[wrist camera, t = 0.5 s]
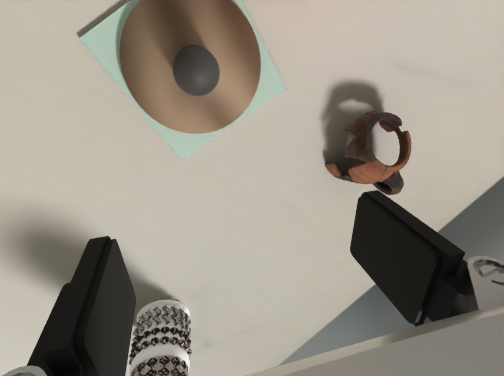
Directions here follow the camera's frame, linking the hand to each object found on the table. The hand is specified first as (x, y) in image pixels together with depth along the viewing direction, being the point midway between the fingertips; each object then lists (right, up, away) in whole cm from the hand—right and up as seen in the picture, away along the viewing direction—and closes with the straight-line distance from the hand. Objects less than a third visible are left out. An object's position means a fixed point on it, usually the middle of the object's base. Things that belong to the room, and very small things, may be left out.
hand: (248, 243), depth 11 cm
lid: (-6, +15, +18) cm, 24 cm away
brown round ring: (+15, +7, +29) cm, 33 cm away
